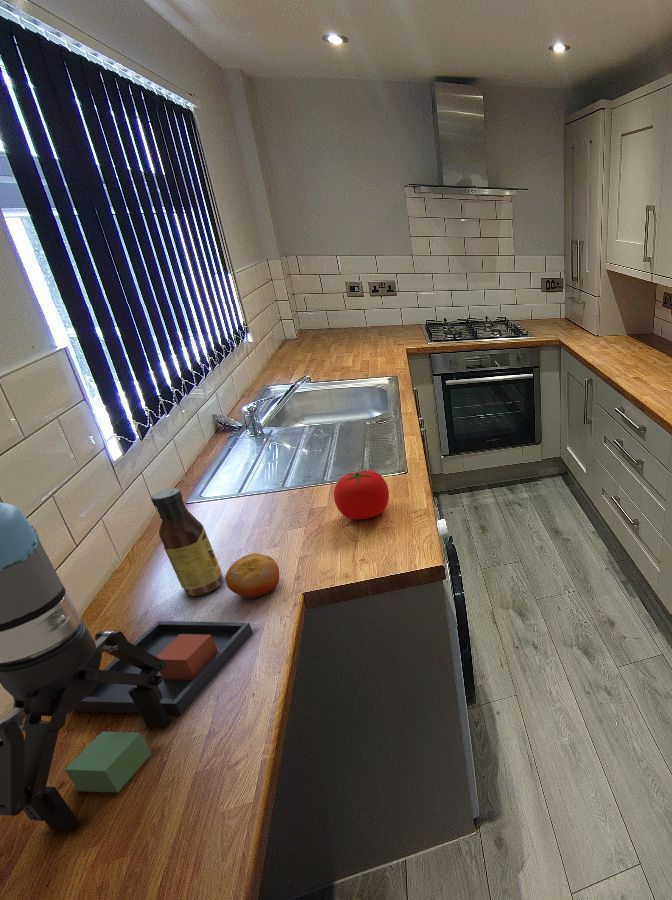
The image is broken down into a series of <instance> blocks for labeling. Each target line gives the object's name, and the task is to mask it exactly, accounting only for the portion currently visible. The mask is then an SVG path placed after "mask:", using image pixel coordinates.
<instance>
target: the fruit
mask: <svg viewBox="0 0 672 900" xmlns="http://www.w3.org/2000/svg"><path fill="white" fill-rule="evenodd" d="M224 580H225V584H226V587H227V588H228V589H229V591H231V592H232V593H234V594H236V595H238V596H240V597H242V598H244V599H246V600H252V599H256V598H258V597H261V596H263V595H264V594H267V593H269V592H271V591H272V590H274V589H275V588H276V587H277V586H278V584H279V582H280V567H279V565H278V563H277V562H276V561H275V559H274V558H272V556H270V555H267V554H261V553H256V552H254V553H253V552H252V553H249V554H246V555H243V556H242V557H240V558H239V559H237V560H236V561H234V562H233V564H231V565H230V566H229V567H228V569H227V571H226V574H225V578H224Z"/></svg>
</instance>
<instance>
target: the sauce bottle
mask: <svg viewBox="0 0 672 900" xmlns="http://www.w3.org/2000/svg"><path fill="white" fill-rule="evenodd" d="M150 500H151V502H152V505H153V506H154V507H155V508H156V510H157V513H158V515H159V519H161V523H160V526H159V528H158V535H159V538H160V540H161V543H162V545H163V549H164V551H165V553H166V556H167V559H168V560H169V562H170V564H171V566H172V569H173V571H174V573H175V575H176V578H177V580H178V582H179V584H180V587H181V588H182V589H183V590H184V593H185V594H186V595H187V596H191V597H197V596H202V595H206V594H208V593H211V592H212V591H214V590H217V589H219V587H221V585H222V583H223V581H224V577H223V575H222V572H223V571H222V569H221V566H220V565H219V562H218V559H217V556H216V553H215V552H214V550H213V546H212V543H211V541H210V540H209V537H208V535H207V531H206V529H205V528H204V525H203V524H202V523H201V521H199V520H198V519H197V517H195V516H194V515H193V514H192V513H191V512H190V511H189V510H188V508H187V507H186V505H185V502H184V500H183V494H182V492H181V490H180V489H179V488H176V487H175V488H173V487H172V488H168V489H167V488H166V489H161V490H159V491H157V492H155V493H153V494H152V495H151V497H150Z"/></svg>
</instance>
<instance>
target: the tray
mask: <svg viewBox="0 0 672 900" xmlns="http://www.w3.org/2000/svg"><path fill="white" fill-rule="evenodd" d="M253 633H254V631H253V629H252V626H251V623H250V622H229V621H225V622H224V621H185V620H182V621H181V620H180V621H179V620H177V621H175V620H158V621H156V622H155V623H154V624H153V625H152V626H150V628H149V629H148V630H146V631H145V632H144V633H142V635H141V636H139V638H138V639H136V640H135V641H134V642H133V643H132V644H133V645H135V646H137V647H139V648H140V649H142V650H144V651H146V652H148V653H150V654H152V655H154V656H155V657H156V656H157V655H158V654H159V653H160V652H161V651H163V650H164V649H165V648H166V647H167V646H168V645H169V644H170V643H171V642H172V641H173V640H174V639H175V638H176V637H177V636H178V635H179V634H196V635H211V636H212V639H213V641H214V643H215V646H216V648H217V651H218V653H217V654H216V655H215V656H214V657H213V658H212V659H211V661H210V662H209V663H208V664H207V665H206V666H205V667H204V668H203V669H202V670H201V671H200V672H199V674H198V675H197V676H196V677H195V678H194V679H193V680H176V679H163V680H162V682H161V684H160V685H158V687H159V689H160V692H161V693H162V699H161V700H160V703H161V705H162V707H163V709H164V711H165V712H166V714H167V715H178V716H179V715H182V714H183V713H184V712H185V711H186V709H187V708H188V707H189V706H190V705H191V704H192V703H193V701H194V700H195V699H196V698H197V697H198V696H199V695H200V694H201V692H203V690H204V689H205V688H206V687H207V686H208V684H209V683H210V682H212V680H213V679H214V678H215V676H217V674H218V673H219V672H220V671H221V670H222V669H223V667H225V665H226V664H227V663H228V662H229V661H230V659H231V658H233V656H234V655H235V654H236V653H237V652H238V651H239V649H240V648H241V647H242V646H243V645H244V643H245V642H246V641H247V640H248V639H249V638H250V637H251V636H252V634H253ZM102 670H106V671H116V672H124V673H134V674H139V673H140V672H141V669H139V668H137V667H135V666H133V665H131V664H129V663H127V662H124V661H122V660H120V659H118V658H116V657H115V659H113V660H112V661H111V662H110V663H108V665H107V666H106V667H104V668H103V669H102ZM157 676H161V674H160V672H158V674H157ZM133 687H137V686H136V685H126V684H112V683H99V682H97V684H96V686H95V687H94V690H95V691H94V692H92V693H91V694H90V695H89V696H88V697H86V698H84V699H83V700H82V701H81V702H80V703H79V704H78V705H77V707H76V708H75V709H74V710H73V711H72V712H77V713H78V712H80V713H81V712H82V713H110V714H111V713H115V714H140V713H139V711H138V709H137V707H136V706H135V704H134V702H133V700H132V698H131V696H130V695H129V693H128V692H129V691H130V690H131V689H132V688H133Z"/></svg>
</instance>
